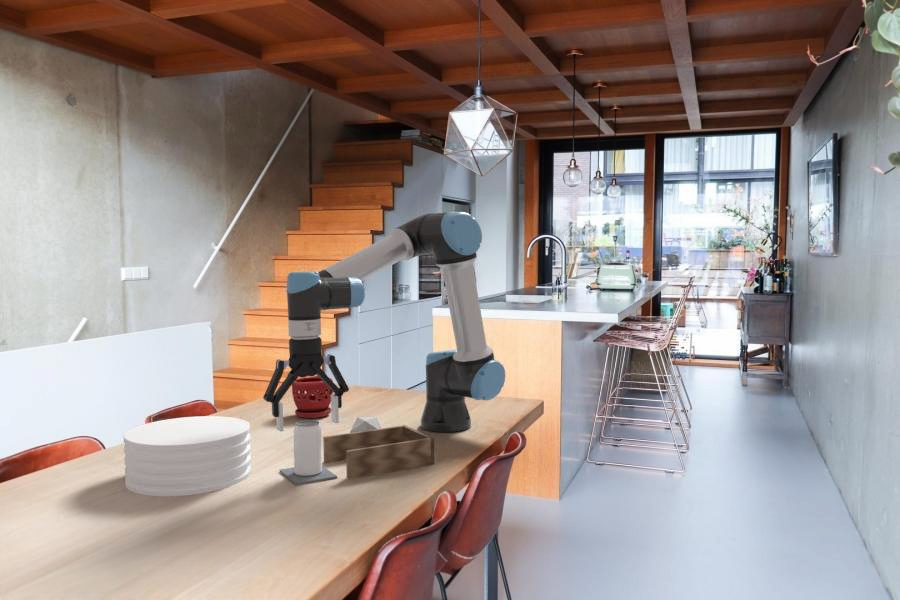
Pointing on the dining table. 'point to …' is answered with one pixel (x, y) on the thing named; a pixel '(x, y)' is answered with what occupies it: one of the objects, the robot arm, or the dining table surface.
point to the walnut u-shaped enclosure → (379, 450)
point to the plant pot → (311, 397)
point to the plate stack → (187, 455)
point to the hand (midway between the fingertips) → (308, 426)
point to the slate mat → (300, 480)
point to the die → (365, 424)
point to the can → (307, 448)
